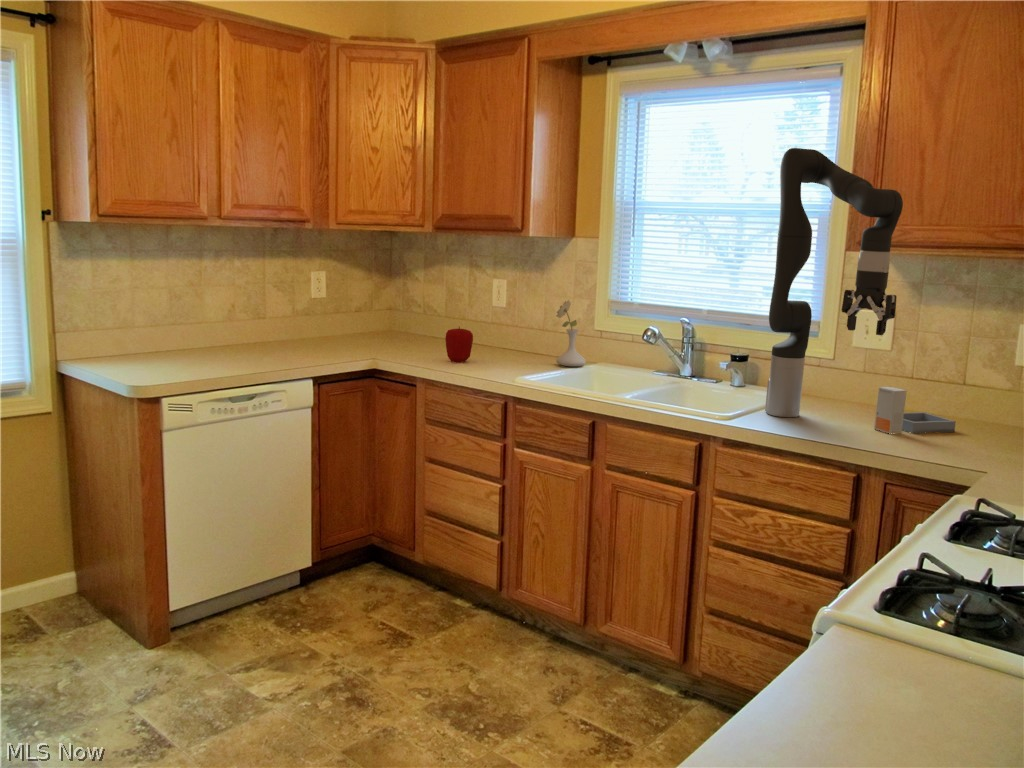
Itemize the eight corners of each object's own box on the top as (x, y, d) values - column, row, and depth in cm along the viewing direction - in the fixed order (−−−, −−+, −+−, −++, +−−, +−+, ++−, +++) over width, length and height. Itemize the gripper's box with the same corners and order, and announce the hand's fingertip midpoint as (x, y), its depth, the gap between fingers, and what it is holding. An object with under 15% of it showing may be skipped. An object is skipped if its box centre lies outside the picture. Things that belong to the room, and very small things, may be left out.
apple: (474, 363, 329) (475, 327, 327) (447, 363, 327) (448, 327, 324) (469, 359, 339) (470, 324, 337) (443, 359, 337) (443, 324, 334)
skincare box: (873, 429, 241) (878, 386, 239) (885, 428, 243) (890, 386, 241) (890, 434, 236) (895, 390, 234) (902, 433, 237) (907, 390, 235)
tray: (882, 423, 249) (883, 413, 249) (922, 422, 253) (924, 412, 253) (912, 433, 238) (913, 422, 237) (954, 431, 242) (955, 421, 241)
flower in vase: (572, 362, 340) (575, 298, 336) (592, 367, 332) (595, 300, 327) (546, 365, 332) (549, 299, 328) (566, 369, 324) (569, 301, 319)
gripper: (839, 267, 227) (832, 329, 230) (888, 271, 215) (880, 337, 219) (858, 267, 231) (851, 328, 234) (907, 271, 219) (899, 336, 222)
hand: (865, 332), depth 226 cm, fingers open, 8 cm apart
